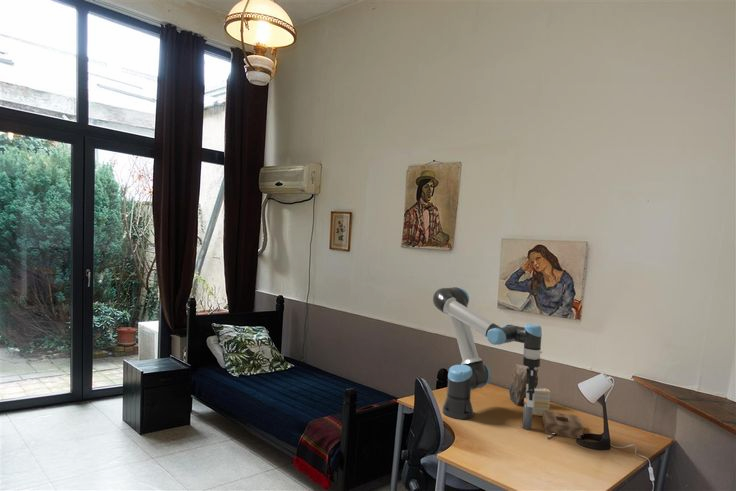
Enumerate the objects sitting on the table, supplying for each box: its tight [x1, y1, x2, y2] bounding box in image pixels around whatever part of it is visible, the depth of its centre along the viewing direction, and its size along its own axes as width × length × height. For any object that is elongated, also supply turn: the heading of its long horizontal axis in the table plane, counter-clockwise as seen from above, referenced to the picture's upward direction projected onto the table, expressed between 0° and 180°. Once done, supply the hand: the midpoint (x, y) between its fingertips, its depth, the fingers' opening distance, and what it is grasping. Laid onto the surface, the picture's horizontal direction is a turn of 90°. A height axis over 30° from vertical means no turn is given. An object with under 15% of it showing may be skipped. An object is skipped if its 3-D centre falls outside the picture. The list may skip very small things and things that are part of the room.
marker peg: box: [521, 398, 533, 431], centre depth 216 cm, size 4×4×14 cm
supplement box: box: [532, 387, 551, 417], centre depth 235 cm, size 8×5×13 cm, turn 84°
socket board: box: [542, 410, 584, 439], centre depth 217 cm, size 16×16×5 cm
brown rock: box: [508, 363, 539, 407], centre depth 252 cm, size 13×13×20 cm
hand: (529, 402), depth 215 cm, fingers open, 13 cm apart
